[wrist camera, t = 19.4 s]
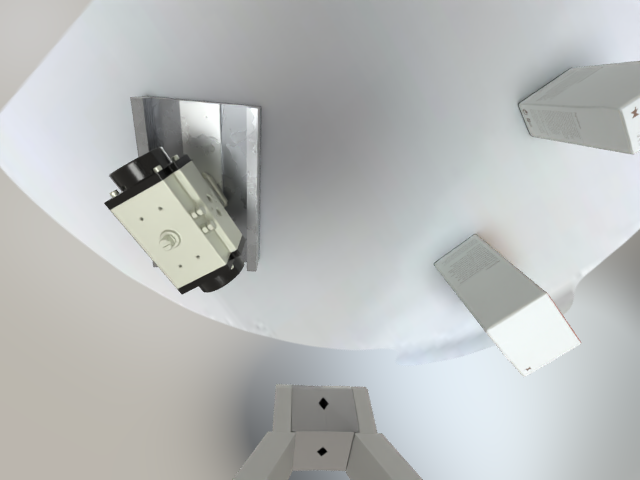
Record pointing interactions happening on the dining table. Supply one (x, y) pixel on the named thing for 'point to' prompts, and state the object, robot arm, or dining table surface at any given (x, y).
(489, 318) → the small box
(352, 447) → the robot arm
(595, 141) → the skincare box
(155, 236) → the pneumatic valve
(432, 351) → the dining table surface
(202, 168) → the rail plate
